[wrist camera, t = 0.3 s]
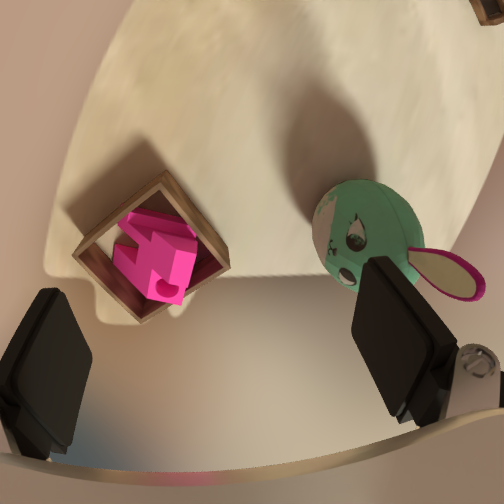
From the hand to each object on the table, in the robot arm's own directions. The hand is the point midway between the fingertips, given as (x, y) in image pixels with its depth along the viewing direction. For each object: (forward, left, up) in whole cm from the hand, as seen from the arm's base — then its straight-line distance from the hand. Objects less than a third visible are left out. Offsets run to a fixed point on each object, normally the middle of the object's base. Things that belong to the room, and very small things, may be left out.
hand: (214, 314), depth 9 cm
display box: (+8, -17, -37) cm, 41 cm away
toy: (+22, +11, -37) cm, 45 cm away
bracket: (+8, -17, -38) cm, 42 cm away
